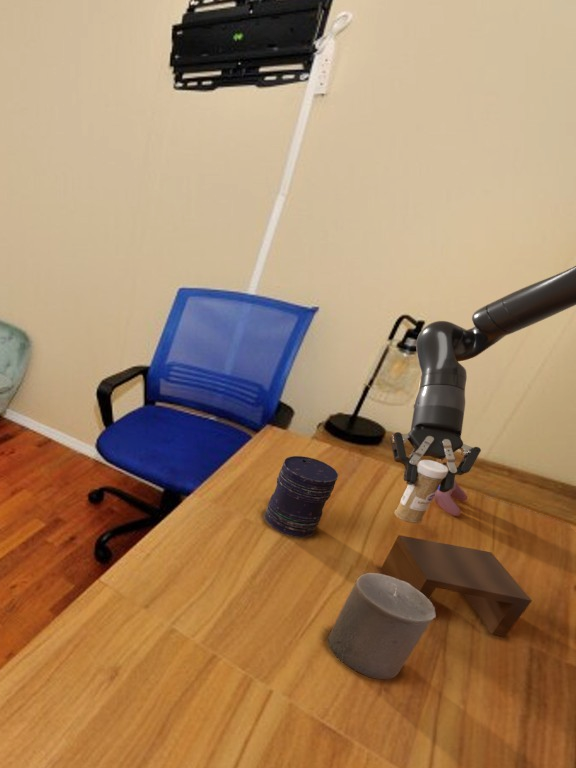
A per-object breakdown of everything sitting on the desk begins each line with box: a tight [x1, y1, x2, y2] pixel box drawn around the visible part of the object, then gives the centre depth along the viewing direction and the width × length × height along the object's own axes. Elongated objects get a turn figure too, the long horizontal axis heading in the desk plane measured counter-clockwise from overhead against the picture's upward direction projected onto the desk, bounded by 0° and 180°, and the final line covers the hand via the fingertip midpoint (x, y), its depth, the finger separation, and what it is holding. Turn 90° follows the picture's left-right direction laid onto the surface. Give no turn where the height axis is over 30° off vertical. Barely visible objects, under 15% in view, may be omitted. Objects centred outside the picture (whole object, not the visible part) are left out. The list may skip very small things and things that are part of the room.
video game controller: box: [433, 479, 468, 517], centre depth 119 cm, size 10×5×7 cm, turn 130°
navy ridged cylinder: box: [264, 455, 339, 538], centre depth 111 cm, size 10×10×15 cm
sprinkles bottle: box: [394, 459, 448, 524], centre depth 105 cm, size 5×5×13 cm
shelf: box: [380, 534, 533, 638], centre depth 92 cm, size 14×12×9 cm
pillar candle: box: [327, 572, 437, 680], centre depth 82 cm, size 10×10×15 cm
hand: (427, 487), depth 102 cm, fingers closed on sprinkles bottle, 4 cm apart
